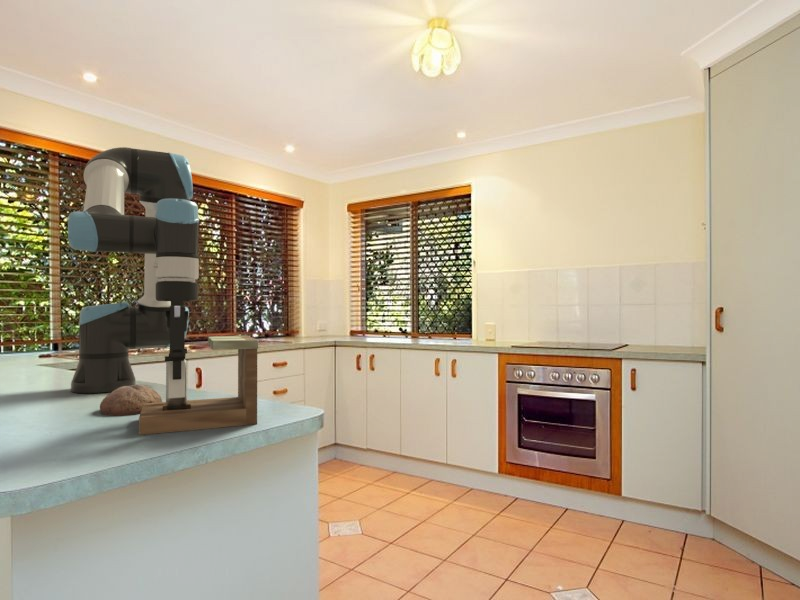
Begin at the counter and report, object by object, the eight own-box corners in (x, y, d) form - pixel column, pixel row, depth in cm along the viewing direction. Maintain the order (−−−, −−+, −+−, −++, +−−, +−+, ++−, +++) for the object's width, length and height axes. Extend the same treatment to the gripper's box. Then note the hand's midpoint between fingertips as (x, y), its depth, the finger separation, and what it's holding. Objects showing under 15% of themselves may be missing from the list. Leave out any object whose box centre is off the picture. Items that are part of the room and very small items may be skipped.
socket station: (144, 417, 102) (144, 338, 102) (247, 409, 110) (247, 335, 110) (138, 436, 87) (139, 343, 87) (257, 425, 95) (258, 340, 95)
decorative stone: (128, 419, 102) (128, 391, 102) (86, 414, 106) (86, 387, 106) (173, 407, 113) (173, 383, 113) (134, 403, 117) (134, 380, 117)
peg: (186, 420, 99) (186, 359, 99) (186, 424, 96) (186, 360, 96) (166, 422, 98) (166, 360, 98) (165, 426, 94) (166, 361, 95)
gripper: (157, 283, 107) (157, 383, 107) (152, 276, 84) (152, 404, 84) (196, 283, 110) (195, 381, 110) (201, 277, 87) (200, 401, 87)
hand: (176, 391), depth 97 cm, fingers open, 13 cm apart
